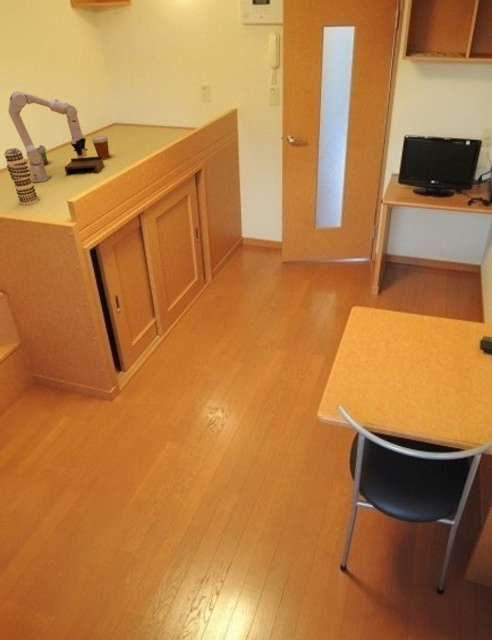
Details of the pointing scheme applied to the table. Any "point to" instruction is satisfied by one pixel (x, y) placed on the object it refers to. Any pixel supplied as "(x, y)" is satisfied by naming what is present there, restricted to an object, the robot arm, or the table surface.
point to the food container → (42, 154)
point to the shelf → (85, 164)
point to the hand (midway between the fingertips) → (81, 153)
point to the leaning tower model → (20, 176)
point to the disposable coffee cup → (101, 146)
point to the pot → (82, 152)
